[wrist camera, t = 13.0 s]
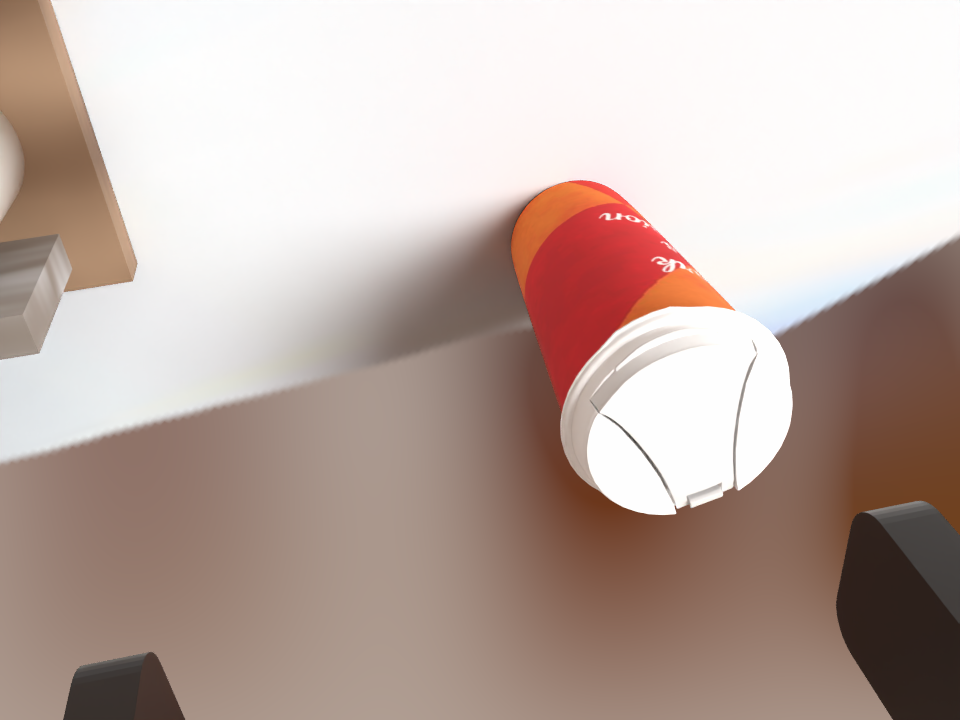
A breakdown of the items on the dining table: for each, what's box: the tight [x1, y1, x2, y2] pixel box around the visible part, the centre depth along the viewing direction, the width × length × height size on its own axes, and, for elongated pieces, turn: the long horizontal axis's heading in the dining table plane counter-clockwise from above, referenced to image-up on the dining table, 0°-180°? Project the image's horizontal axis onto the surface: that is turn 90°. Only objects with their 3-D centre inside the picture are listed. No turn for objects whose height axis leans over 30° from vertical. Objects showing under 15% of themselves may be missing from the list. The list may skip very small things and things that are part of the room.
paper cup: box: [511, 180, 792, 515], centre depth 34 cm, size 8×8×14 cm
